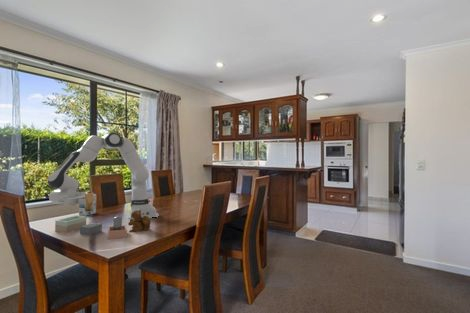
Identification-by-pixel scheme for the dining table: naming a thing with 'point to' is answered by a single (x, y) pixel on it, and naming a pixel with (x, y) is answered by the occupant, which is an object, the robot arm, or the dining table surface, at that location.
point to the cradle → (91, 228)
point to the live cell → (89, 201)
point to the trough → (70, 223)
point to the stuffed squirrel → (139, 222)
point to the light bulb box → (83, 212)
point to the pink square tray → (117, 232)
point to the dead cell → (117, 223)
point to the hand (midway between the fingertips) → (90, 200)
